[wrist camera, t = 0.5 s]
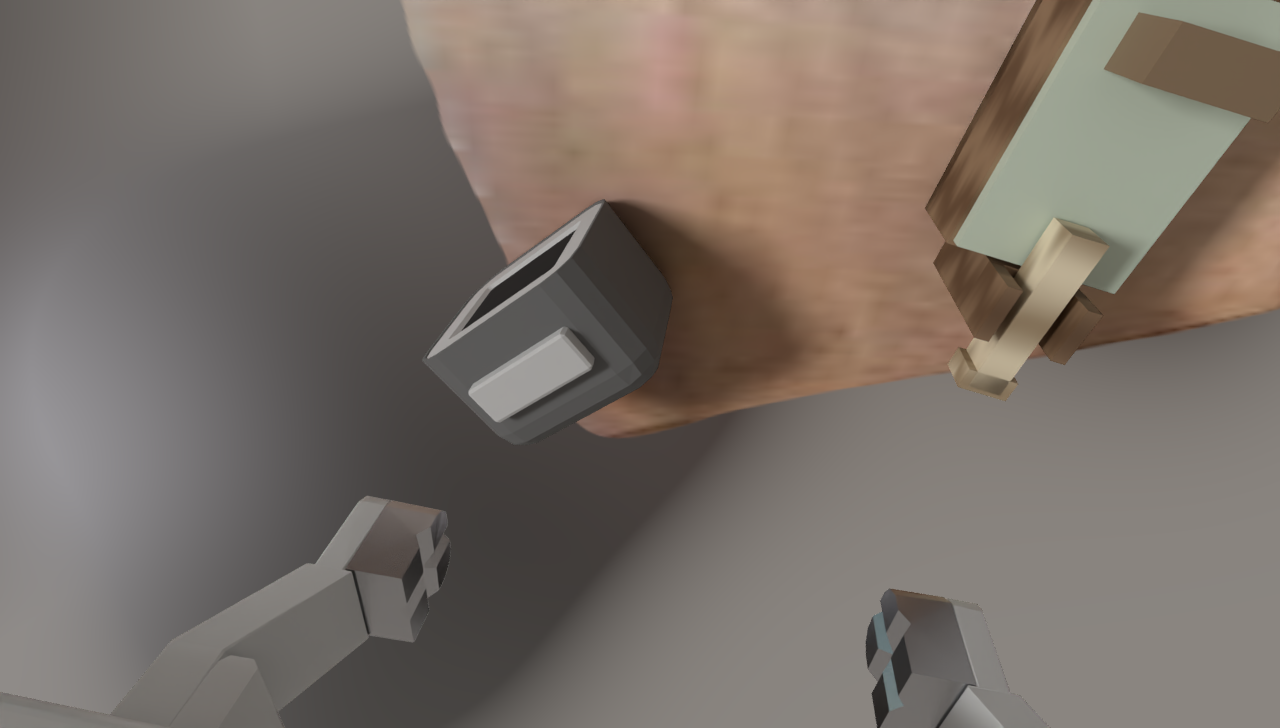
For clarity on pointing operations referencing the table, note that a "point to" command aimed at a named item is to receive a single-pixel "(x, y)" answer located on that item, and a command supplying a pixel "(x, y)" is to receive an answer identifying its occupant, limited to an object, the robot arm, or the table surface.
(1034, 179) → the lid
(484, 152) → the table surface
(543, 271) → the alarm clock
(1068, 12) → the chest
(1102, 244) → the bar
